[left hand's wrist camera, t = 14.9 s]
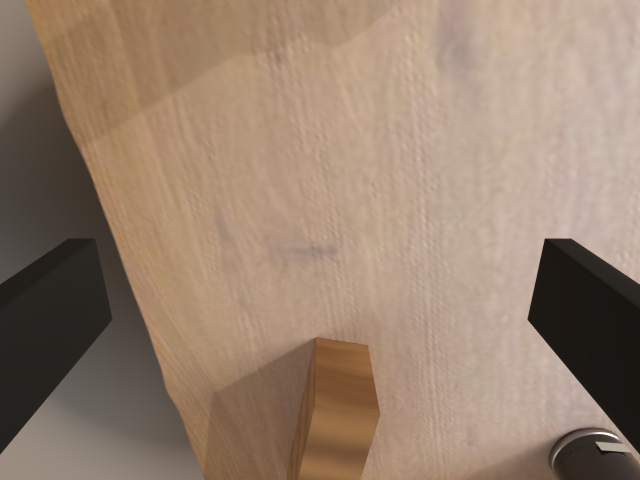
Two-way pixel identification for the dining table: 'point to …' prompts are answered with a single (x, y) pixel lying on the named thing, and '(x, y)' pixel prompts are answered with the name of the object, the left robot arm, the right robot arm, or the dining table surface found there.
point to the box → (335, 414)
